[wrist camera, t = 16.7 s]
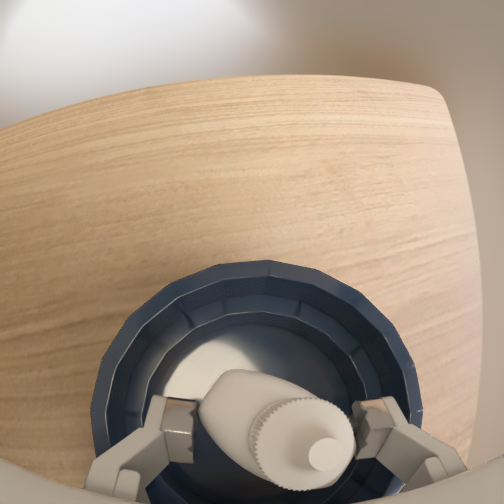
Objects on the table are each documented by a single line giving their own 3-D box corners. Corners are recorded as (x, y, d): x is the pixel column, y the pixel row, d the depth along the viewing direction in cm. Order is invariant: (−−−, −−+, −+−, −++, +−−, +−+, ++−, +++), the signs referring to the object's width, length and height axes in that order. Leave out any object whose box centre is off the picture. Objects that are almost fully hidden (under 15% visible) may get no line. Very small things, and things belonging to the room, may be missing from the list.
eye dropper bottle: (267, 359, 17) (347, 284, 7) (314, 442, 15) (453, 482, 5) (197, 393, 16) (152, 378, 5) (244, 478, 14) (288, 592, 3)
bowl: (381, 319, 20) (427, 290, 15) (349, 531, 13) (389, 562, 8) (158, 277, 20) (140, 233, 15) (109, 498, 13) (73, 525, 8)
